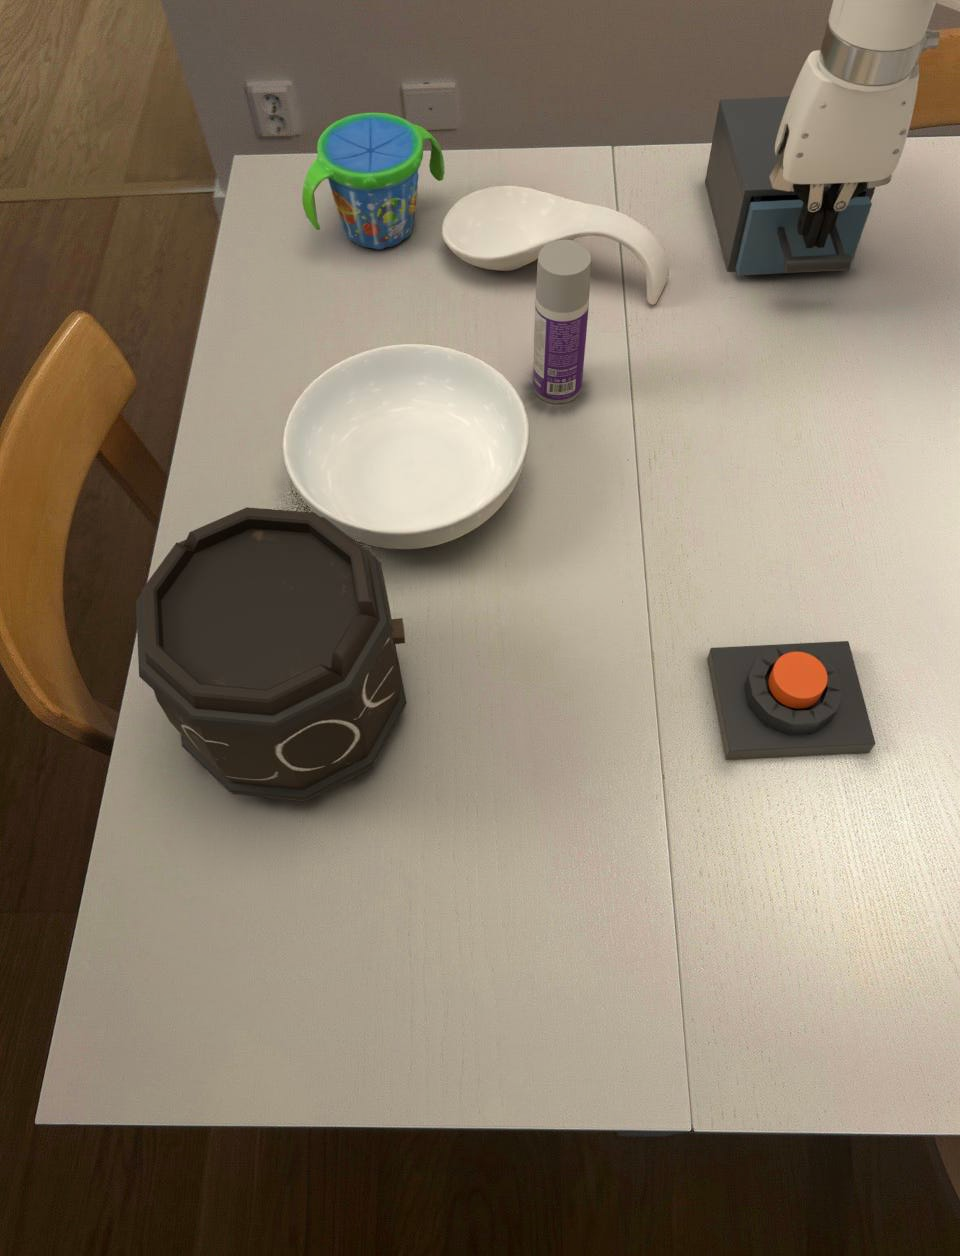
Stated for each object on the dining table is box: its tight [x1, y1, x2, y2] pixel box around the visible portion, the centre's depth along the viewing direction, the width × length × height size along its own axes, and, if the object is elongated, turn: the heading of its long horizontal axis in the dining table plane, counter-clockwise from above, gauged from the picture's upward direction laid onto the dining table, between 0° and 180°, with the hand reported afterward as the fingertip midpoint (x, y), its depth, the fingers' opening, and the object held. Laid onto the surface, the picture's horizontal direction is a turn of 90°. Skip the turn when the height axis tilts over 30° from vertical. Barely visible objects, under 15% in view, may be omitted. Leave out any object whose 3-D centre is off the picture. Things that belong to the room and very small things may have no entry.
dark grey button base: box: [706, 640, 876, 761], centre depth 82 cm, size 11×9×4 cm
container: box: [532, 240, 592, 405], centre depth 95 cm, size 5×5×15 cm
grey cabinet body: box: [704, 95, 876, 272], centre depth 109 cm, size 15×13×10 cm
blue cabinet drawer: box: [735, 195, 872, 276], centre depth 106 cm, size 19×11×8 cm, turn 3°
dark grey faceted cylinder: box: [135, 506, 407, 802], centre depth 77 cm, size 18×18×16 cm
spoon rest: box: [441, 185, 670, 305], centre depth 107 cm, size 24×12×7 cm, turn 68°
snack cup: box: [301, 112, 446, 251], centre depth 109 cm, size 16×10×10 cm
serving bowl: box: [282, 343, 530, 550], centre depth 92 cm, size 21×21×7 cm
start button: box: [769, 652, 828, 709], centre depth 80 cm, size 4×4×2 cm
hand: (811, 238), depth 101 cm, fingers closed
